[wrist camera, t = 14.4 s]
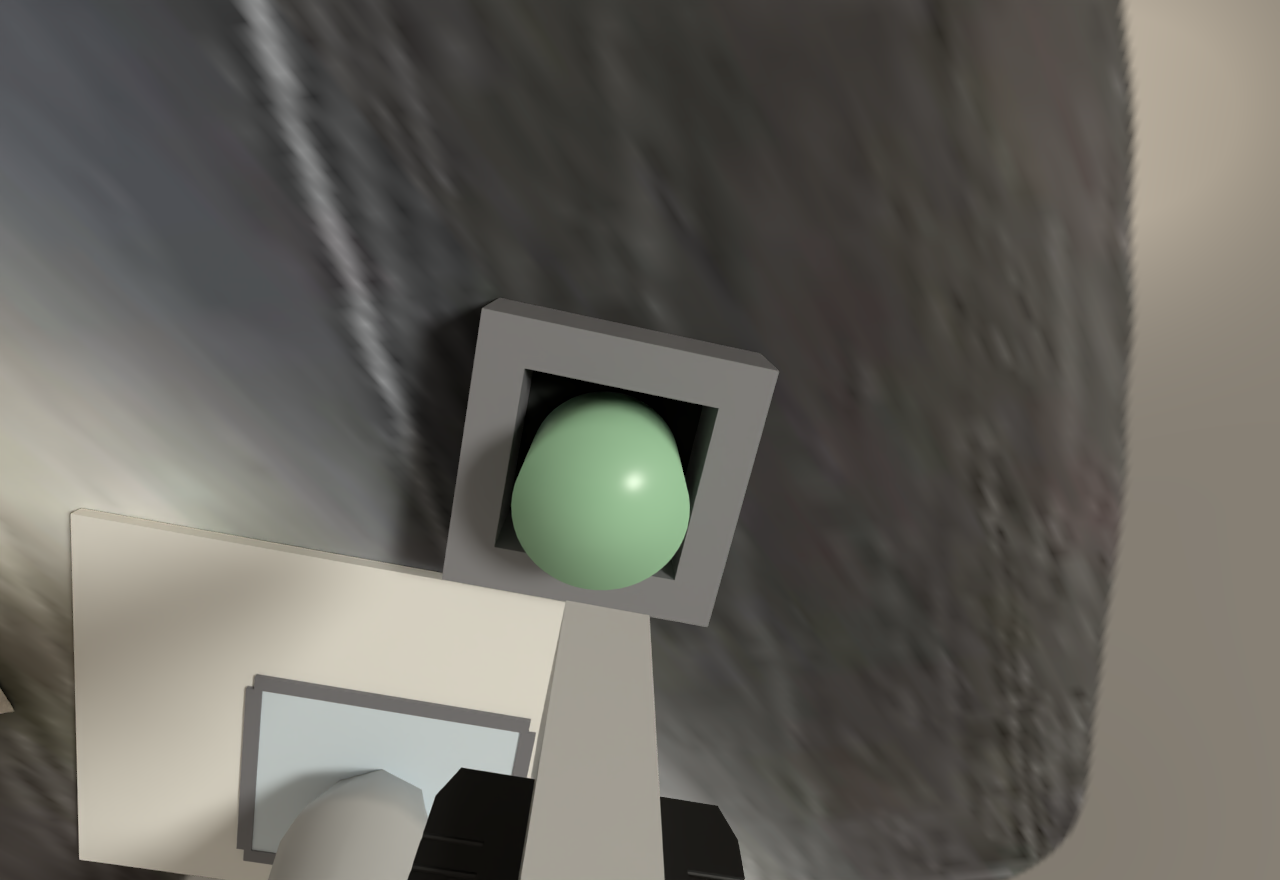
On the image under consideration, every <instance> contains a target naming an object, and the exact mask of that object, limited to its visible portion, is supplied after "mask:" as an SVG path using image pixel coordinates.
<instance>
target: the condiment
mask: <svg viewBox="0 0 1280 880" xmlns="http://www.w3.org/2000/svg"><path fill="white" fill-rule="evenodd" d="M6 712H14V710H13V708H12V706H11V704H10V702H9V701H8V700H7V698H6V696H5V695H4V693H3V692H2V690H1V689H0V714H2V713H6Z"/></svg>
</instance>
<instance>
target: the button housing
mask: <svg viewBox="0 0 1280 880" xmlns="http://www.w3.org/2000/svg"><path fill="white" fill-rule="evenodd" d="M533 370H535V371H540V372H545V373H550V374H555V375H559V376H564V377H569V378H574V379H579V380H584V381H589V382H593V383H598V384H603V385H608V386H613V387H618V388H622V389H627V390H632V391H637V392H642V393H647V394H652V395H656V396H661V397H666V398H671V399H676V400H681V401H686V402H690V403H695V404H700V405H703V407H702V411H701V415H700V419H699V423H698V427H697V431H696V435H695V439H694V443H693V447H692V451H691V455H690V459H689V463H688V467H687V471H686V475H685V482H686V486H687V490H688V494H689V503H690V514H689V522H688V527H687V530H686V533H685V536H684V539H683V541H682V543H681V545H680V547H679V549H678V550H677V551H676V553H675V554H674V556H673V557H672V558H671V559H670V561H669V562H668V563H667V564H666V565H665V566H664V567H662V568H661V569H660V570H659V571H658V572H656V573H655V574H653V575H652V576H650V577H649V578H647V579H645V580H643V581H641V582H639V583H637V584H634V585H631V586H628V587H624V588H620V589H613V590H589V589H583V588H578V587H574V586H571V585H569V584H566V583H563V582H561V581H559V580H557V579H555V578H553V577H552V576H550V575H549V574H547V573H546V572H544V571H543V570H542V569H541V568H540V567H538V566H537V565H536V564H535V563H534V562H533V561H532V559H531V558H530V557H529V556H528V555H527V553H526V552H525V550H524V549H523V547H522V546H521V544H520V542H519V539H518V537H517V535H516V532H515V529H514V525H513V520H512V511H509V507H510V501H511V496H512V490H513V484H514V478H515V473H516V467H517V461H518V455H519V450H520V444H521V438H522V432H523V427H524V421H525V415H526V409H527V404H528V398H529V392H530V386H531V381H532V375H533ZM778 373H779V371H778V370H777V369H776V368H775V367H774V366H773V365H772V364H771V363H770V362H769V361H768V360H767V359H766V358H765V357H764V356H763V355H762V354H760V353H756V352H751V351H747V350H742V349H737V348H733V347H728V346H723V345H719V344H714V343H709V342H704V341H700V340H695V339H690V338H686V337H681V336H676V335H672V334H667V333H662V332H658V331H653V330H648V329H644V328H639V327H634V326H630V325H625V324H620V323H616V322H611V321H606V320H602V319H597V318H592V317H588V316H583V315H578V314H574V313H569V312H564V311H560V310H555V309H550V308H546V307H541V306H536V305H532V304H527V303H522V302H518V301H513V300H508V299H504V298H498V299H496V300H495V301H493V302H491V303H490V304H488V305H486V306H485V307H483V308H482V311H481V318H480V325H479V331H478V338H477V345H476V352H475V358H474V365H473V372H472V379H471V385H470V392H469V399H468V406H467V412H466V419H465V426H464V433H463V439H462V446H461V453H460V460H459V466H458V473H457V480H456V487H455V493H454V500H453V507H452V514H451V520H450V527H449V534H448V541H447V548H446V554H445V561H444V568H443V575H442V580H448V581H453V582H459V583H464V584H470V585H475V586H481V587H487V588H492V589H498V590H503V591H509V592H515V593H520V594H526V595H531V596H537V597H543V598H548V599H554V600H559V601H565V602H566V600H568V601H573V602H579V603H584V604H590V605H595V606H601V607H606V608H612V609H617V610H623V611H628V612H634V613H639V614H645V615H649V617H654V618H660V619H666V620H671V621H677V622H682V623H688V624H694V625H699V626H705V627H708V624H709V621H710V617H711V613H712V610H713V606H714V603H715V599H716V595H717V592H718V588H719V585H720V581H721V578H722V574H723V570H724V567H725V563H726V560H727V556H728V552H729V549H730V545H731V542H732V538H733V535H734V531H735V527H736V524H737V520H738V517H739V513H740V509H741V506H742V502H743V499H744V495H745V492H746V488H747V484H748V481H749V477H750V474H751V470H752V466H753V463H754V459H755V456H756V452H757V449H758V445H759V441H760V438H761V434H762V431H763V427H764V424H765V420H766V416H767V413H768V409H769V406H770V402H771V398H772V395H773V391H774V388H775V384H776V381H777V377H778Z"/></svg>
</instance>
